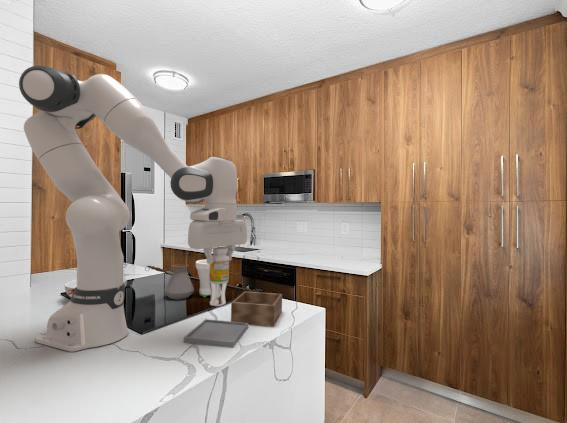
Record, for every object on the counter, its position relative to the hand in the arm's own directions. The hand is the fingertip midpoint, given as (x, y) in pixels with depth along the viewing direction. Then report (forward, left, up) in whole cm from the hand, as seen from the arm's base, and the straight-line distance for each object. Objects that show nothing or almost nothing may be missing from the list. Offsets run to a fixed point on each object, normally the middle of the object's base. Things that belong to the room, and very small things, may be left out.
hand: (219, 262), depth 88 cm
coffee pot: (-31, +27, -21) cm, 46 cm away
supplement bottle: (0, 0, -6) cm, 6 cm away
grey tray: (0, 0, -21) cm, 21 cm away
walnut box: (+8, +17, -21) cm, 28 cm away
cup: (-19, +37, -21) cm, 47 cm away
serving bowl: (-59, +22, -21) cm, 66 cm away
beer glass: (-11, +27, -21) cm, 36 cm away
